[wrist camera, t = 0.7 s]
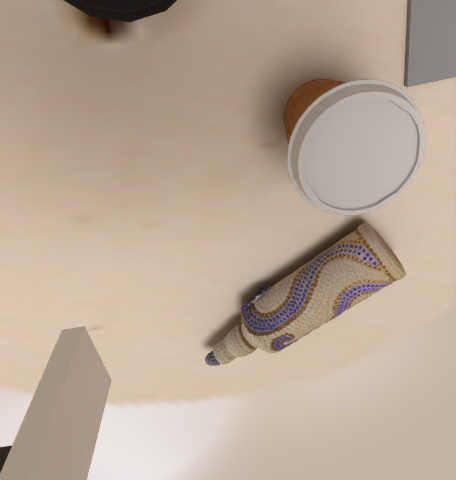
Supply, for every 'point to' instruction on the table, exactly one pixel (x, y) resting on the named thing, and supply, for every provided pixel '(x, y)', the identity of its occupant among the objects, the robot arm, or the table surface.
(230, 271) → the table surface
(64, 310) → the table surface
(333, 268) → the decorative bottle
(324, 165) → the disposable coffee cup
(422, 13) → the mat
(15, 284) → the table surface
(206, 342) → the table surface
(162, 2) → the coffee cup
